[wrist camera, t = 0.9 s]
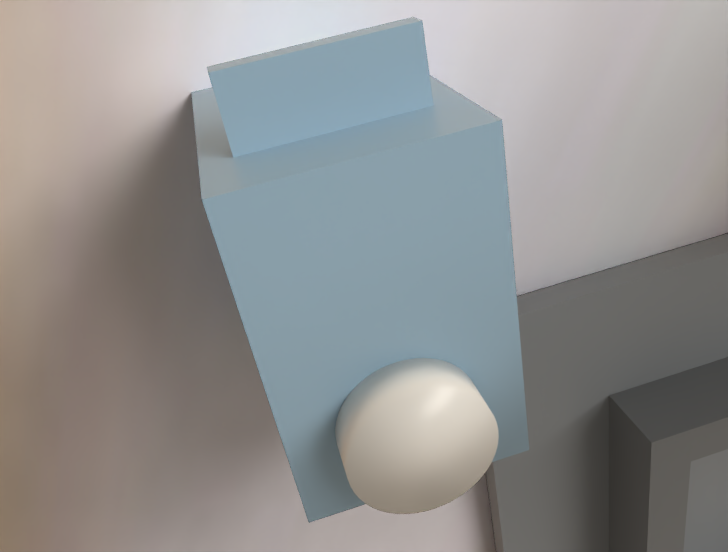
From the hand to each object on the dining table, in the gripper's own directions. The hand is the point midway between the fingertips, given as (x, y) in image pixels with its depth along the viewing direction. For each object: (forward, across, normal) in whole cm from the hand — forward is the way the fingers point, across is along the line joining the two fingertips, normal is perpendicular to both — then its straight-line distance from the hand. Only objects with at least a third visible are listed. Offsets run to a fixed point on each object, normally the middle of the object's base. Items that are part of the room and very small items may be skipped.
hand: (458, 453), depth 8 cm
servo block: (+8, 0, 0) cm, 9 cm away
